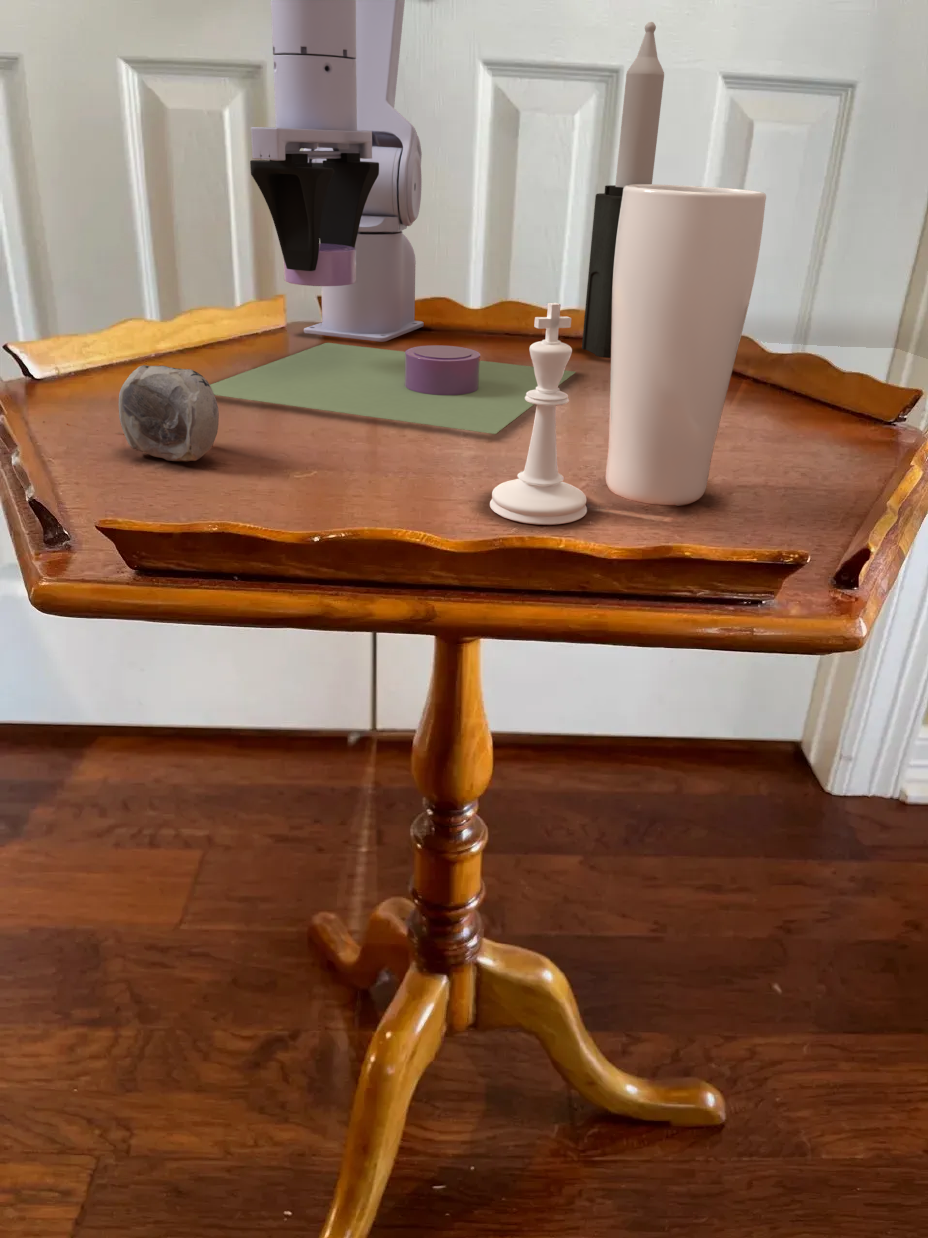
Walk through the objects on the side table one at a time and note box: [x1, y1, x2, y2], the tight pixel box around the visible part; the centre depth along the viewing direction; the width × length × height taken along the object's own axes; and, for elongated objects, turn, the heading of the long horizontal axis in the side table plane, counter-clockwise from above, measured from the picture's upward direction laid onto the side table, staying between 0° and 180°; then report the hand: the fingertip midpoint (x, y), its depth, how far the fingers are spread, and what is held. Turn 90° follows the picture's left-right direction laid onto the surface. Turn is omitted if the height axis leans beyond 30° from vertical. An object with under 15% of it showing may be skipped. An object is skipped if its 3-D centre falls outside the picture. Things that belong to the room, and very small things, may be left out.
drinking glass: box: [604, 183, 767, 507], centre depth 50 cm, size 7×7×15 cm
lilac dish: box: [282, 242, 356, 287], centre depth 74 cm, size 5×5×2 cm
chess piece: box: [489, 302, 588, 526], centre depth 48 cm, size 5×5×10 cm
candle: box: [581, 21, 665, 359], centre depth 81 cm, size 5×5×25 cm
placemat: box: [209, 342, 577, 435], centre depth 73 cm, size 20×22×1 cm
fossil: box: [118, 364, 220, 462], centre depth 54 cm, size 6×3×5 cm, turn 68°
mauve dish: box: [404, 344, 481, 395], centre depth 71 cm, size 5×5×2 cm
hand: (319, 265), depth 74 cm, fingers closed on lilac dish, 5 cm apart
